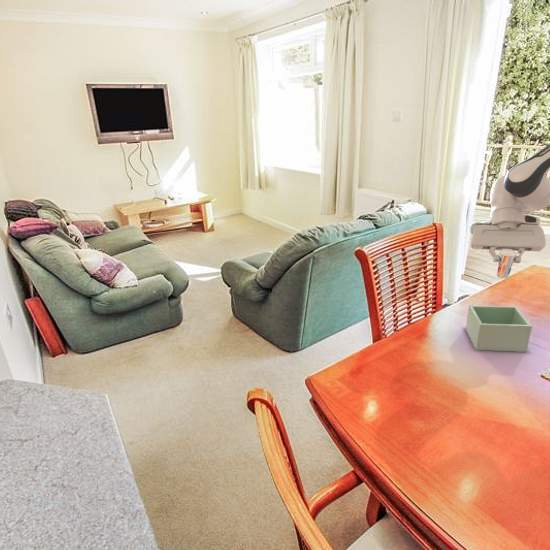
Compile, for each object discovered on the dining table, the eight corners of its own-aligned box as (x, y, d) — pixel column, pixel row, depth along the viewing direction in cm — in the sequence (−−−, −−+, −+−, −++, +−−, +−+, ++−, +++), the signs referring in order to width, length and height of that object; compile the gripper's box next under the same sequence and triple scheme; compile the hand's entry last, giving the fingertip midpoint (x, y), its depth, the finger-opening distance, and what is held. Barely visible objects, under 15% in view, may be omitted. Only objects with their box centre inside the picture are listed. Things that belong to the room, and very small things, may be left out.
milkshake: (511, 281, 116) (518, 251, 112) (492, 276, 120) (499, 247, 115) (515, 276, 119) (522, 247, 115) (496, 272, 123) (503, 243, 118)
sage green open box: (511, 330, 120) (516, 306, 116) (526, 351, 109) (532, 326, 106) (465, 328, 122) (469, 305, 119) (475, 349, 112) (479, 324, 109)
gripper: (472, 217, 122) (471, 256, 117) (546, 218, 115) (548, 259, 110) (468, 226, 127) (468, 263, 123) (539, 227, 120) (541, 267, 116)
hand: (507, 262), depth 117 cm, fingers closed on milkshake, 4 cm apart
